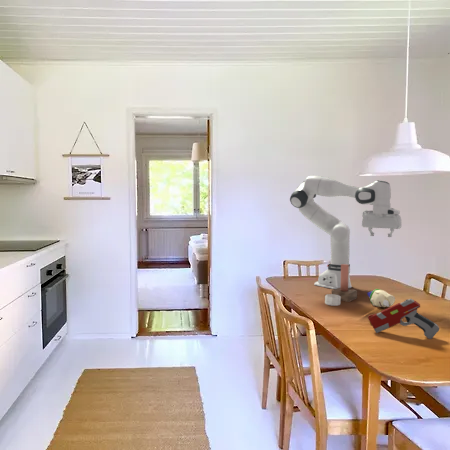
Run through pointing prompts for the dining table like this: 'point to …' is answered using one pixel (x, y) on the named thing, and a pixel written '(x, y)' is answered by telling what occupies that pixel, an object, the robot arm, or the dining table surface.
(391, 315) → the toy gun
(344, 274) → the dowel
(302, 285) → the dining table surface
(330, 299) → the white nut
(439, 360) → the dining table surface
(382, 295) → the cartoon head
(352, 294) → the stand
